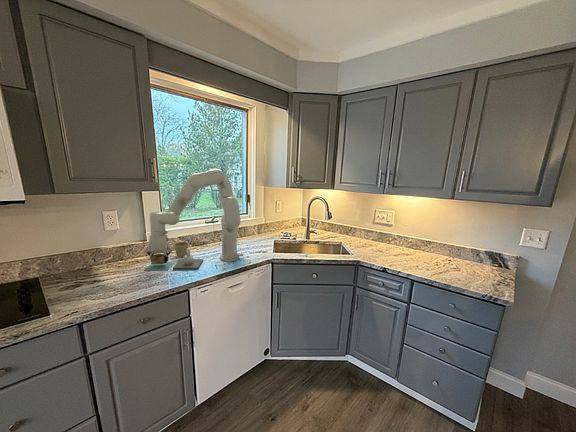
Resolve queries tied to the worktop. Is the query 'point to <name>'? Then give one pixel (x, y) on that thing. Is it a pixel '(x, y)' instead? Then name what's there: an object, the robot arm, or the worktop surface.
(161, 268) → the mat
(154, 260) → the walnut link
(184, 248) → the flower pot
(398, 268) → the worktop surface
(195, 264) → the stand
